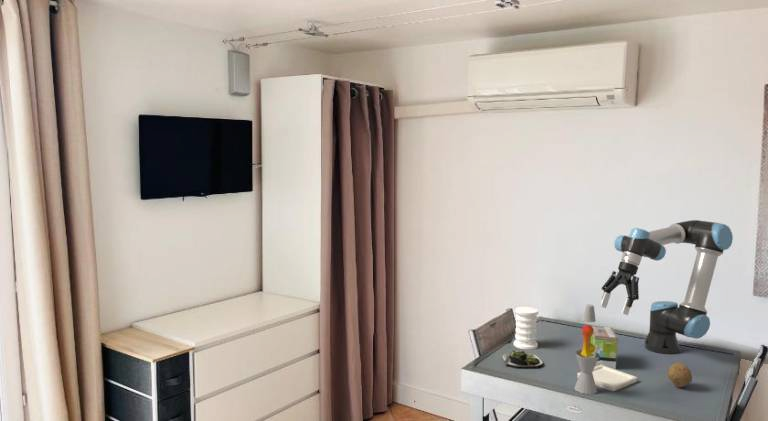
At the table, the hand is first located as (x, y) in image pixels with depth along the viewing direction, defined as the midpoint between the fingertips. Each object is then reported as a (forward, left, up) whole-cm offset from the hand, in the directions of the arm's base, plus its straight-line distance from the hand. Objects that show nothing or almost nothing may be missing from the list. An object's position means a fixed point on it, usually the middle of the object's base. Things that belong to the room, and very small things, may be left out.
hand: (613, 310), depth 250 cm
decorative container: (+2, -45, -28) cm, 53 cm away
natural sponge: (-11, +24, -28) cm, 39 cm away
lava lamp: (+23, +4, -28) cm, 36 cm away
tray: (+7, +3, -28) cm, 29 cm away
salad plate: (+21, -31, -29) cm, 47 cm away
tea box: (-9, -10, -28) cm, 32 cm away
